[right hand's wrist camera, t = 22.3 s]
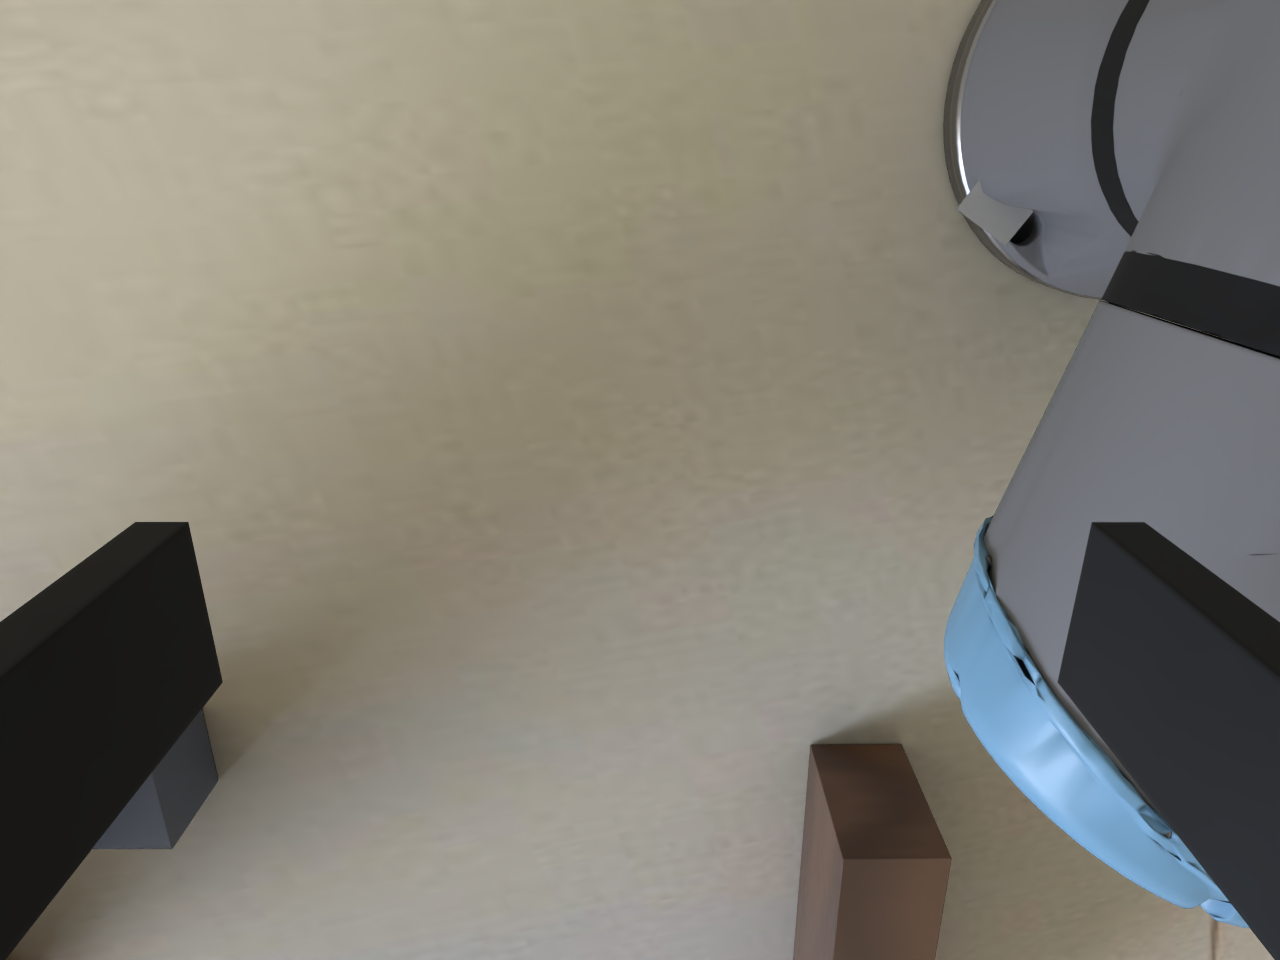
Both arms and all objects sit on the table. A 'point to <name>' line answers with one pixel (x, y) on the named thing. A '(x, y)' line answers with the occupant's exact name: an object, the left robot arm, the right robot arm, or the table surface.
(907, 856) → the brown rectangular block
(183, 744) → the slate grey block
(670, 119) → the table surface
